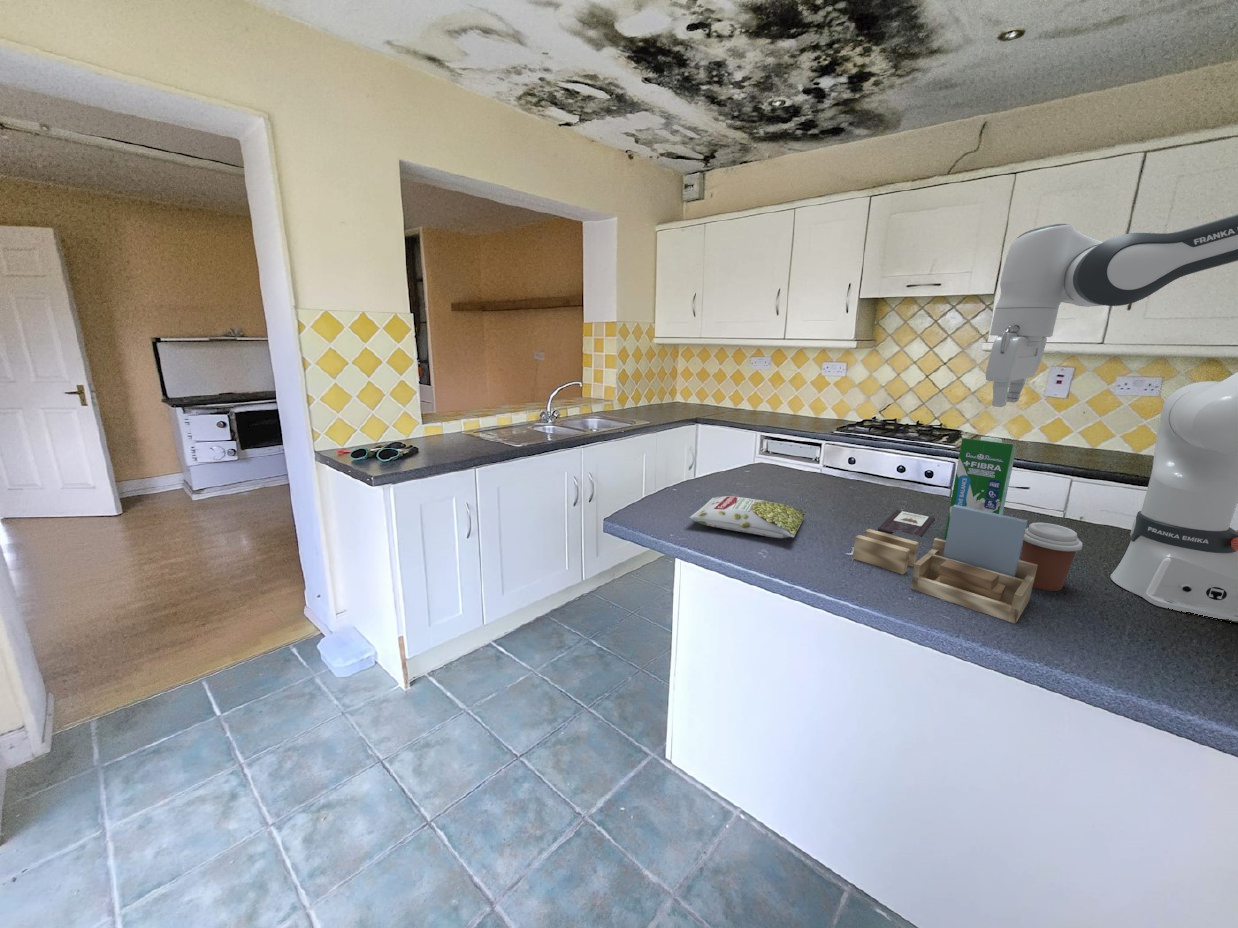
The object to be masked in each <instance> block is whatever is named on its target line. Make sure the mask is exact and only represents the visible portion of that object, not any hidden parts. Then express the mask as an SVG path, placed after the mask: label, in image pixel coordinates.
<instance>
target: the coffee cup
mask: <svg viewBox="0 0 1238 928" xmlns="http://www.w3.org/2000/svg"><path fill="white" fill-rule="evenodd" d="M1083 544H1084V543H1083V542H1082V541H1081V540H1080V538H1078V532H1076V531H1074V529H1071V528H1069V527H1066V526H1062V525H1059V524H1055V523H1047V522H1032V523H1029V525H1028V527H1026V530H1025V535H1024V539H1023V544H1022V548H1021V556H1020V557H1021V559H1020V560H1022V561H1026V562H1029V563H1033V564H1037V565H1038V566H1037V570H1036V575H1035V579H1034V583H1033V587H1032V588H1033V589H1034V588H1035V589H1038V590H1041V591H1042V590H1043V591H1049V592H1060V591H1062V590H1063V587H1064V585H1065V582H1066V580H1067V576H1068V574H1069V572H1070V569H1071V565H1072V563H1073V561H1074V558H1075V555H1076V553H1077V552H1079V551H1082V550H1083V546H1084V545H1083Z"/></svg>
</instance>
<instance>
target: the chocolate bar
mask: <svg viewBox="0 0 1238 928" xmlns="http://www.w3.org/2000/svg"><path fill="white" fill-rule="evenodd" d="M934 521H935V517H932V516H927V515H922V514H916V513H913V512H907V511H903V510H895V511H894V512H893V514H891V515H890V516H889V517H888V518H887V519H886V520H885V521H884V522H883V523H882V524H881V525H880V526H879V527H878V528H877V530H876V531H879V532H883V533H886V534H890V535H893V534H894V533H896V532H897V531H898V532H901V533H904V534H909V535H913V536H916V537H921V538H922V537H923V535H924V534H925V533H926V532H927V530H928V529H929V528H930V526H932V524H933V523H934Z"/></svg>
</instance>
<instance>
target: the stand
mask: <svg viewBox="0 0 1238 928" xmlns="http://www.w3.org/2000/svg"><path fill="white" fill-rule="evenodd" d="M854 537H855V538H854V543H853V545H854V546H853V552H852V559H851V561H852V562H853V561H854V560H857V561H860V562H863V563H865V564H870V565H872V566H876V567H878V568H881V569H885V570H887V571H891V572H895V573H897V574H900V575H904V574H905V573H907V572H908V566H909V567H913V568H914V564H915V563H916V562H917V558H918V550H919V546H920V542H918V541H915V540H912V539H908V538H904V537H900V536H896V535H893V534H889V533H885V532H880V531H877V530H874V529H871V528H868V529H866V530H865V531H864V535H861V534H858V535H856V536H854Z"/></svg>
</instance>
